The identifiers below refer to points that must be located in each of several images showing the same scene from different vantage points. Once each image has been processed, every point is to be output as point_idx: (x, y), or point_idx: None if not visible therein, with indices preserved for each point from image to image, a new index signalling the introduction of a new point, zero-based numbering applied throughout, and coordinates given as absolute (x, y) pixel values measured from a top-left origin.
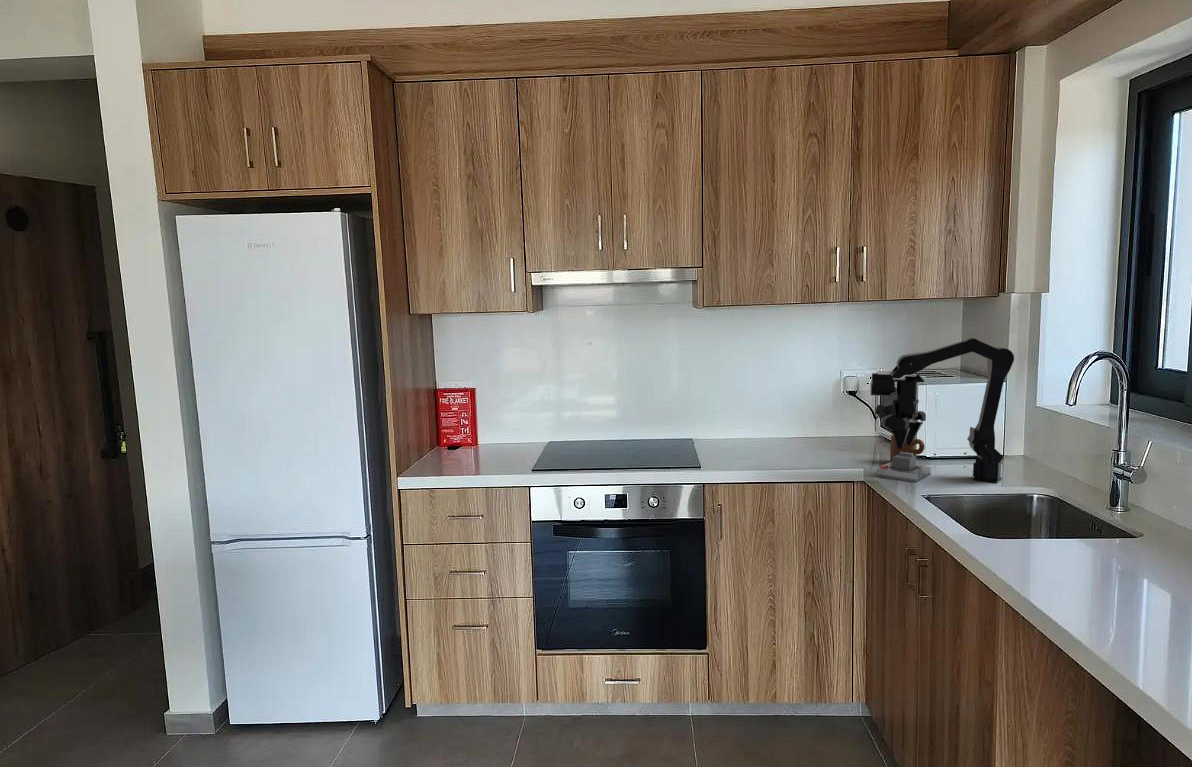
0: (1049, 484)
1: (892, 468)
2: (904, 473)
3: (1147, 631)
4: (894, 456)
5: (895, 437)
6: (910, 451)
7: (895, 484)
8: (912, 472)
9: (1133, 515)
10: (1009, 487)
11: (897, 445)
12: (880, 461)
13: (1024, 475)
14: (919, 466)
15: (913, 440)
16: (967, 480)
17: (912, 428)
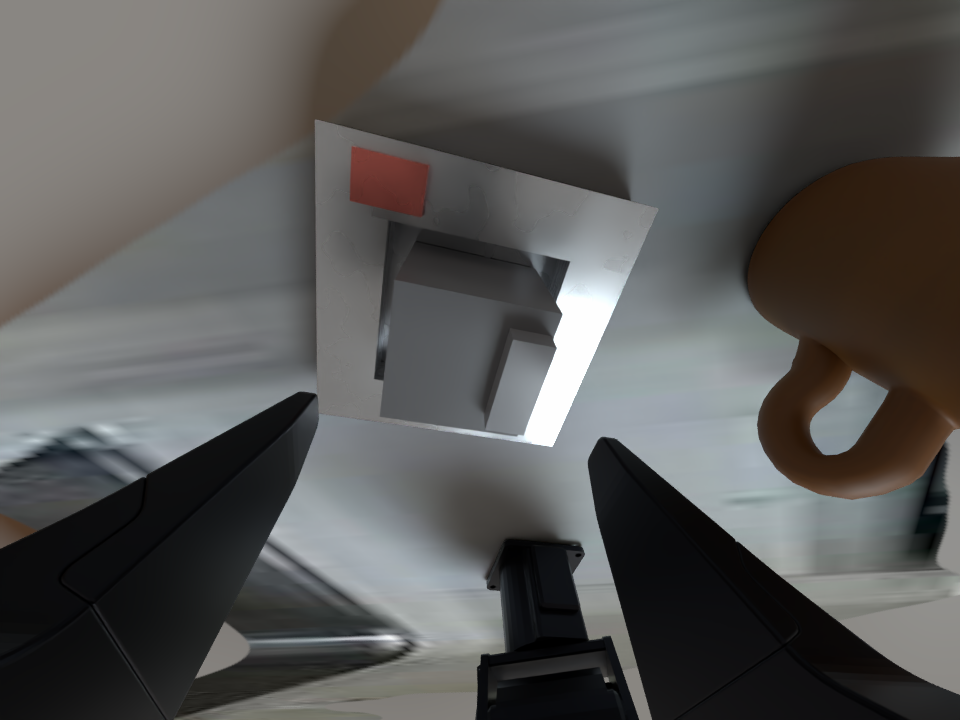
0: None
1: (411, 252)
2: (320, 344)
3: None
4: (421, 294)
5: (120, 500)
6: (831, 351)
7: (192, 293)
8: (350, 386)
9: (329, 715)
10: (451, 602)
11: (268, 413)
12: (921, 59)
13: None
14: (543, 399)
15: (919, 434)
16: (493, 526)
17: (707, 715)
